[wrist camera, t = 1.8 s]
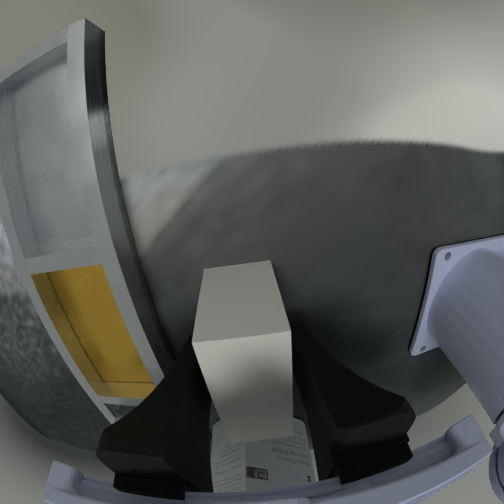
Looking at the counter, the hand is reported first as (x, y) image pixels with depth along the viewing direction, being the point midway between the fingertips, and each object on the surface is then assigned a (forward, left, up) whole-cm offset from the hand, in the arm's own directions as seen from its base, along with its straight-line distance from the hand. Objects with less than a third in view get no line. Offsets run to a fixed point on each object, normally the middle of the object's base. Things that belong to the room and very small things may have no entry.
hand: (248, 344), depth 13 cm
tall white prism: (0, 0, -2) cm, 2 cm away
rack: (+8, -1, -1) cm, 8 cm away
